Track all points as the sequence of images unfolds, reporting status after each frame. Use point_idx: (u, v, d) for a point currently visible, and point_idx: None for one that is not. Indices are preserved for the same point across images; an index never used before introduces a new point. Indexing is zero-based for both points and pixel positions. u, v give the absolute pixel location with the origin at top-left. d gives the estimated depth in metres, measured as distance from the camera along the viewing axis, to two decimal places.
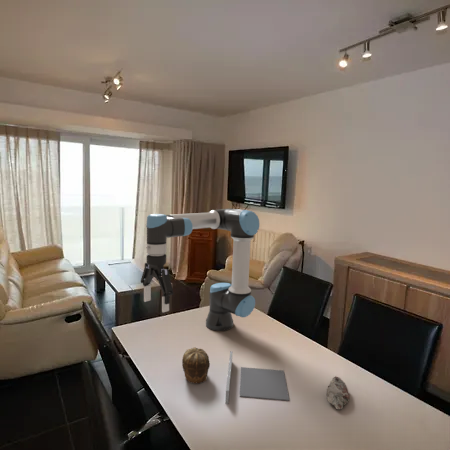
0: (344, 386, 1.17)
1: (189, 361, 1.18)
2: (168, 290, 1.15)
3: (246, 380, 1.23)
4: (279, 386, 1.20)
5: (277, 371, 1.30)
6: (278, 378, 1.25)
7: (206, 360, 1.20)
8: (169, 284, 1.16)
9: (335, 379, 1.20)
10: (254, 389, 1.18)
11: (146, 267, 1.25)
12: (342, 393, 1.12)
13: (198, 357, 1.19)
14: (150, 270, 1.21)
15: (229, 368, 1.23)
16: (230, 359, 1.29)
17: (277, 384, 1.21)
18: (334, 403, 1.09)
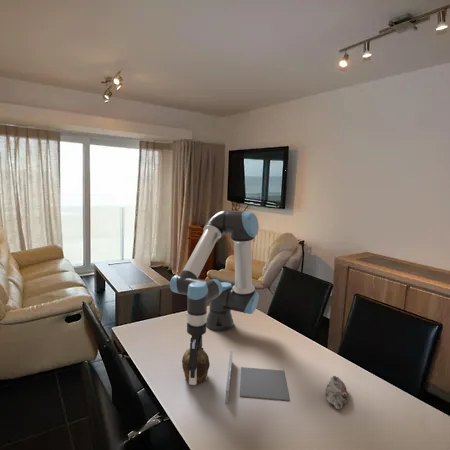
0: (343, 385, 1.18)
1: None
2: (190, 365, 1.14)
3: (246, 380, 1.23)
4: (279, 386, 1.20)
5: (277, 371, 1.30)
6: (278, 378, 1.25)
7: (206, 360, 1.20)
8: (193, 359, 1.14)
9: (334, 378, 1.20)
10: (254, 389, 1.18)
11: None
12: (341, 392, 1.13)
13: (198, 357, 1.19)
14: None
15: (229, 368, 1.23)
16: (230, 359, 1.29)
17: (277, 384, 1.21)
18: (333, 403, 1.10)
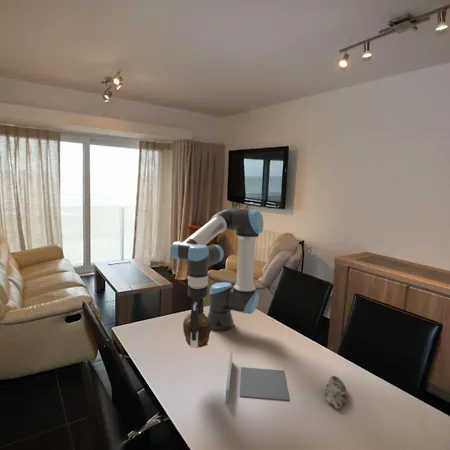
0: (342, 385, 1.18)
1: None
2: (191, 327, 1.12)
3: (246, 380, 1.23)
4: (279, 386, 1.20)
5: (277, 371, 1.30)
6: (278, 378, 1.25)
7: (207, 324, 1.18)
8: (194, 321, 1.12)
9: (333, 378, 1.20)
10: (254, 389, 1.18)
11: None
12: (341, 392, 1.13)
13: (199, 320, 1.17)
14: None
15: (229, 368, 1.23)
16: (230, 359, 1.29)
17: (277, 384, 1.21)
18: (333, 402, 1.10)
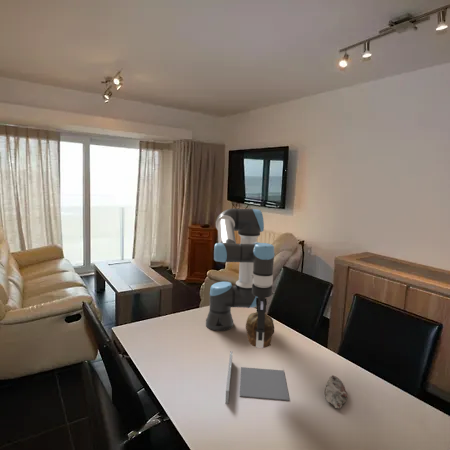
0: (341, 385, 1.18)
1: (256, 323, 1.14)
2: (259, 326, 1.10)
3: (246, 380, 1.23)
4: (279, 386, 1.20)
5: (277, 371, 1.30)
6: (278, 378, 1.25)
7: (272, 323, 1.16)
8: (262, 321, 1.10)
9: (332, 378, 1.21)
10: (254, 389, 1.18)
11: None
12: (340, 392, 1.13)
13: None
14: (256, 299, 1.19)
15: (229, 368, 1.23)
16: (230, 359, 1.29)
17: (277, 384, 1.21)
18: (333, 402, 1.10)
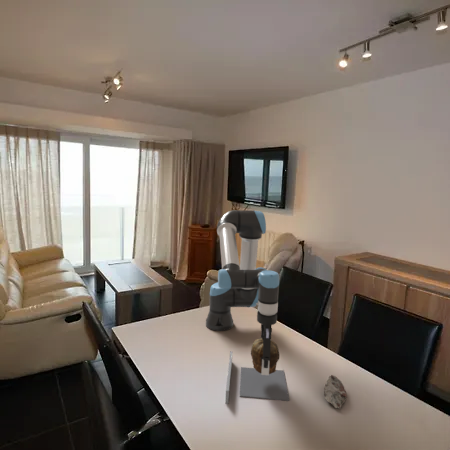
0: (341, 384, 1.18)
1: (261, 351, 1.15)
2: (265, 355, 1.11)
3: (246, 380, 1.23)
4: (279, 386, 1.20)
5: (277, 371, 1.30)
6: (278, 378, 1.25)
7: (277, 350, 1.18)
8: (268, 349, 1.12)
9: (331, 378, 1.21)
10: (254, 389, 1.18)
11: None
12: (340, 392, 1.13)
13: (270, 347, 1.16)
14: (261, 326, 1.20)
15: (229, 368, 1.23)
16: (230, 359, 1.29)
17: (277, 384, 1.21)
18: (332, 402, 1.10)
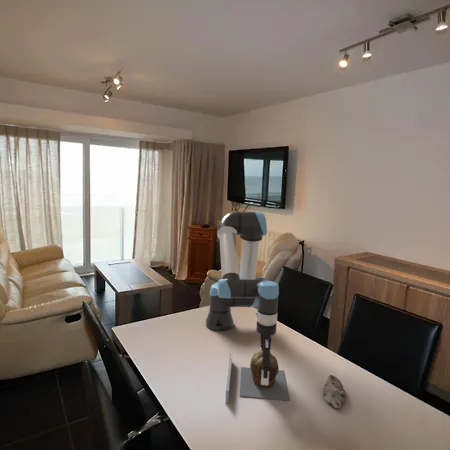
0: (340, 384, 1.18)
1: (261, 364, 1.16)
2: (264, 365, 1.11)
3: (246, 380, 1.23)
4: (279, 386, 1.20)
5: None
6: (278, 378, 1.25)
7: (276, 364, 1.19)
8: (267, 359, 1.12)
9: (331, 377, 1.21)
10: (254, 389, 1.18)
11: None
12: (339, 391, 1.13)
13: None
14: (260, 336, 1.21)
15: (229, 368, 1.23)
16: (230, 359, 1.29)
17: (277, 384, 1.21)
18: (332, 402, 1.10)
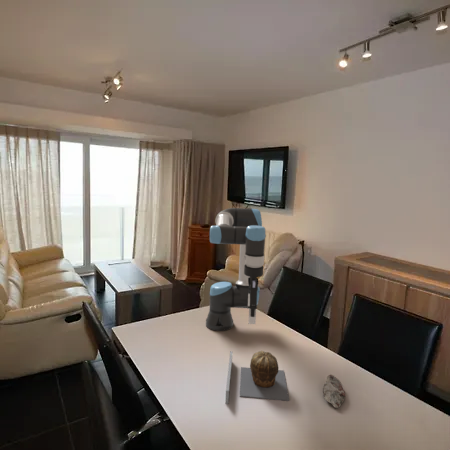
0: (339, 384, 1.19)
1: (261, 365, 1.16)
2: (251, 303, 1.15)
3: (246, 380, 1.23)
4: (279, 386, 1.20)
5: None
6: (278, 378, 1.25)
7: (276, 364, 1.18)
8: (254, 298, 1.16)
9: (330, 377, 1.21)
10: (254, 389, 1.18)
11: None
12: (339, 391, 1.13)
13: (269, 361, 1.17)
14: (248, 279, 1.25)
15: (229, 368, 1.23)
16: (230, 359, 1.29)
17: (277, 384, 1.21)
18: (332, 402, 1.10)
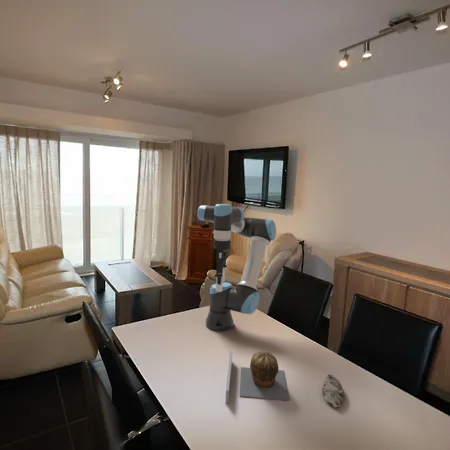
0: (338, 383, 1.19)
1: (261, 365, 1.16)
2: (217, 271, 1.28)
3: (246, 380, 1.23)
4: (279, 386, 1.20)
5: None
6: (278, 378, 1.25)
7: (276, 364, 1.18)
8: (220, 267, 1.29)
9: (329, 377, 1.21)
10: (254, 389, 1.18)
11: None
12: (338, 391, 1.14)
13: (269, 361, 1.17)
14: (217, 253, 1.38)
15: (229, 368, 1.23)
16: (230, 359, 1.29)
17: (277, 384, 1.21)
18: (332, 401, 1.10)
